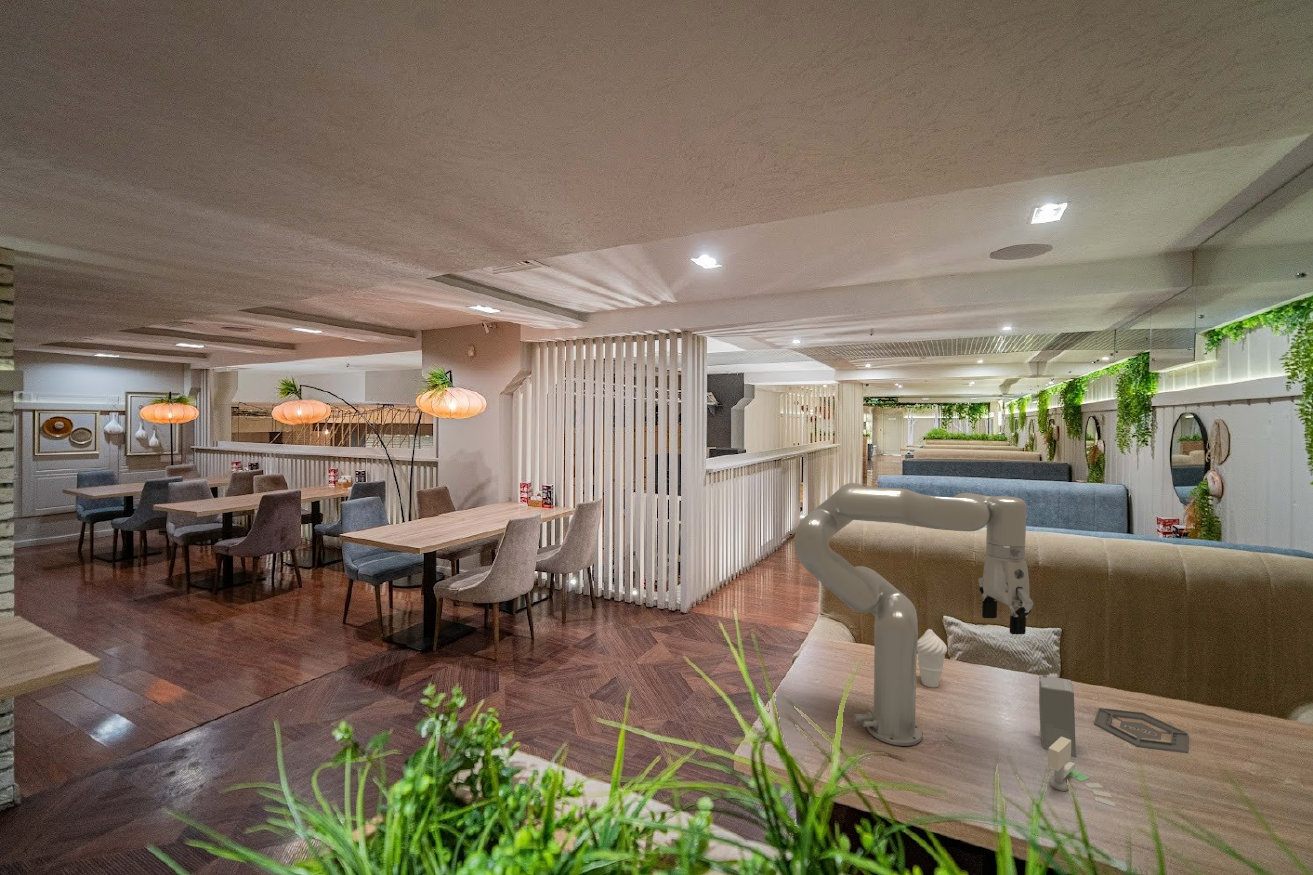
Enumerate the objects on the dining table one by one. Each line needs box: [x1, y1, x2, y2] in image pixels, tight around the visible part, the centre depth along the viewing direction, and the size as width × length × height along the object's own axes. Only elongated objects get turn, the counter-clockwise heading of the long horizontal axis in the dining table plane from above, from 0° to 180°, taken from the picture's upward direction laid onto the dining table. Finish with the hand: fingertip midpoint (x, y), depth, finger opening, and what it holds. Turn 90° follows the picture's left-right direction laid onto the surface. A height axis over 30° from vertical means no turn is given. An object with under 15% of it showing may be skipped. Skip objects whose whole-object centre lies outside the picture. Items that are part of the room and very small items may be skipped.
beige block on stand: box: [1047, 736, 1076, 792], centre depth 117 cm, size 11×3×9 cm, turn 126°
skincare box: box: [1038, 674, 1077, 758], centre depth 131 cm, size 8×7×16 cm
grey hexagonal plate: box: [1093, 707, 1189, 754], centre depth 140 cm, size 17×20×1 cm
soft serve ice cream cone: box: [917, 628, 948, 689], centre depth 163 cm, size 8×8×16 cm
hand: (1002, 625), depth 128 cm, fingers open, 9 cm apart
